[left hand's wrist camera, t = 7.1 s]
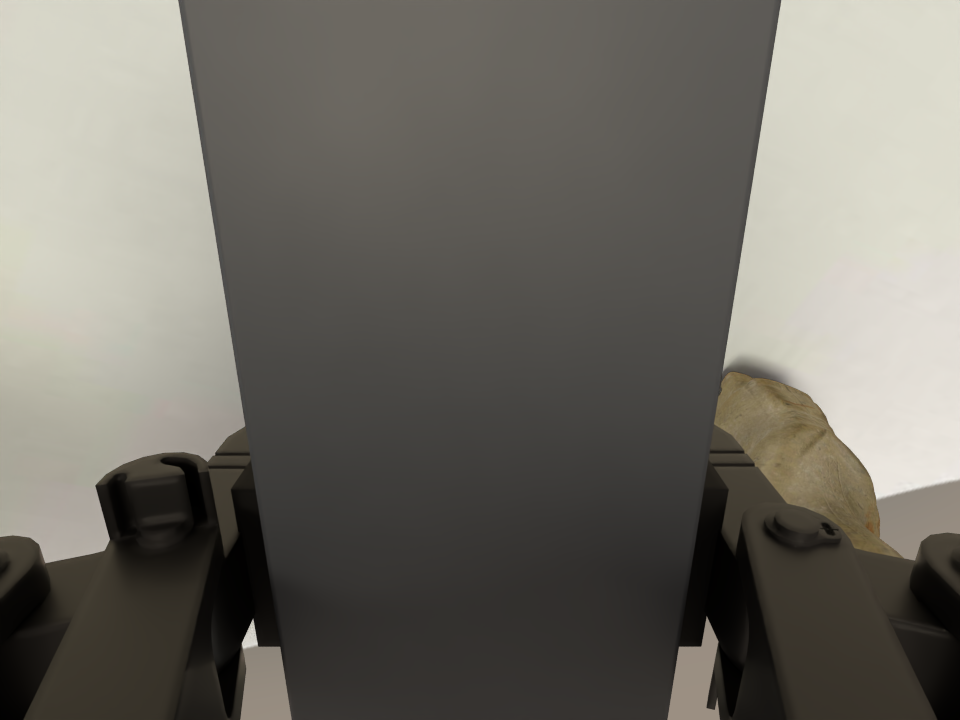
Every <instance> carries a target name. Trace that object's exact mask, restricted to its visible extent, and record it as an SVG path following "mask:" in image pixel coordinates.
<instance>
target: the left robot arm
mask: <svg viewBox="0 0 960 720" xmlns="http://www.w3.org/2000/svg"><path fill="white" fill-rule="evenodd" d="M96 490H97V493H98V497H99V501H100V504H101V508H102V512H103V515H104V519H105V523H106V526H107V530H108V534H109V537H110V541H109V543H108V545H107V547H106V549H105V551H102V552H99V553H95V554H90V555H85V556H80V557H75V558H70V559H65V560H60V561H55V562H50V563H45V561H44V558H43V555H42V552H41V549H40V546H39V544H37V543H36V542H35V541H33V540H32V539H31V538H28V537H20V536H5V537H0V720H240V717H241V708H242V700H243V691H244V683H245V674H246V665H245V658H244V653H243V647H242V641H243V639H244V637H245V635H246V633H247V630H248V628H249V626H250V624H251V622H252V620H253V619H254V625H255V630H256V636H257V642H258V646H259V647H280V641H279V635H278V628H277V622H276V616H275V609H274V603H273V597H272V590H271V584H270V578H269V571H268V565H267V559H266V552H265V546H264V540H263V533H262V527H261V521H260V514H259V508H258V502H257V495H256V489H255V483H254V476H253V470H252V464H251V457H250V451H249V445H248V438H247V432H246V426H245V427H244V428H242V429H241V430H239V431H237V432H236V433H234V434H232V435H231V436H229V437H228V438H227V439H226V440H225V441H224V443H223V444H222V445H221V446H220V448H219V449H218V450H217V451H216V453H215V456H212V458H211V459H210V460H209V461H208V462H207V461H205V460H204V459H203V458H201V457H200V456H198V455H194V454H189V453H184V452H180V453H162V454H157V455H152V456H147V457H142V458H140V459H137V460H134V461H131V462H129V463H126V464H123V465H121V466H120V467H118V468H116V469H115V470H113V471H111V472H109V473H108V474H106V475H105V476H104V477H103V478H102V479H101V480H100V481H99V482H98V483H97V485H96ZM706 617H708V620H709V622H710V624H711V626H712V628H713V630H714V633H715V635H716V637H717V639H718V641H719V642H718V647H717V653H716V658H715V663H714V669H713V674H712V679H711V684H710V690H709V695H708V702H707V708H709V709H713V710H715V706H716V701H717V698H718V707H719V715H720V720H960V534H954V533H942V534H934V535H930V536H928V537H927V538H926V539H924V540H923V541H922V542H921V544H920V547H919V551H918V554H917V557H916V560H915V561H914V560H909V559H904V558H899V557H893V556H888V555H883V554H878V553H873V552H868V551H864V550H860V549H856V548H854V546H853V544H852V542H851V540H850V538H849V537H848V536H847V535H846V533H845V532H844V531H843V530H842V528H841V527H840V526H838V525H837V524H835V523H834V522H832V521H831V520H830V519H828V518H827V517H825V516H823V515H821V514H819V513H816V512H814V511H812V510H809V509H807V508H804V507H800V506H796V505H792V504H787V503H786V501H785V500H784V499H783V498H782V496H781V495H780V494H779V493H778V491H777V490H776V489H775V488H774V486H773V485H772V484H771V483H770V482H769V480H768V479H767V478H766V477H765V475H764V474H763V473H762V472H761V470H760V469H759V468H758V467H755V463H754V462H753V460H752V459H751V458H750V457H749V456H748V454H745V452H744V449H743V448H742V447H741V446H740V444H739V443H738V442H737V441H736V439H735V438H734V437H733V436H732V435H731V434H729V433H728V432H726V431H724V430H723V429H721V428H719V427H718V426H716V425H714V427H713V434H712V440H711V446H710V453H709V459H708V465H707V472H706V478H705V484H704V491H703V497H702V503H701V509H700V516H699V522H698V528H697V535H696V541H695V547H694V554H693V560H692V566H691V573H690V579H689V585H688V592H687V598H686V604H685V611H684V617H683V623H682V629H681V636H680V642H679V647H680V646H681V647H682V646H683V647H685V646H686V647H689V646H691V647H694V646H697V647H699V646H701V645H702V639H703V634H704V628H705V622H706Z"/></svg>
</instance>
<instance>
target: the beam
mask: <svg viewBox="0 0 960 720" xmlns="http://www.w3.org/2000/svg"><path fill="white" fill-rule="evenodd" d="M178 1H179V7H180V14H181V20H182V26H183V33H184V39H185V45H186V52H187V58H188V64H189V71H190V77H191V83H192V90H193V96H194V102H195V109H196V115H197V121H198V128H199V134H200V140H201V147H202V153H203V159H204V166H205V172H206V178H207V185H208V191H209V197H210V204H211V210H212V216H213V223H214V229H215V235H216V242H217V248H218V254H219V261H220V267H221V273H222V280H223V286H224V292H225V299H226V305H227V311H228V318H229V324H230V331H231V337H232V343H233V350H234V356H235V362H236V369H237V375H238V381H239V388H240V394H241V400H242V407H243V413H244V419H245V426H246V432H247V438H248V445H249V451H250V457H251V464H252V470H253V476H254V483H255V489H256V495H257V502H258V508H259V514H260V521H261V527H262V533H263V540H264V546H265V552H266V559H267V565H268V571H269V578H270V584H271V590H272V597H273V603H274V609H275V616H276V622H277V628H278V635H279V641H280V647H281V654H282V660H283V666H284V673H285V679H286V685H287V692H288V698H289V705H290V711H291V717H292V720H667V718H668V712H669V705H670V699H671V692H672V686H673V680H674V674H675V667H676V661H677V655H678V648H679V642H680V636H681V629H682V623H683V617H684V611H685V604H686V598H687V592H688V585H689V579H690V573H691V566H692V560H693V554H694V547H695V541H696V535H697V528H698V522H699V516H700V509H701V503H702V497H703V491H704V484H705V478H706V472H707V465H708V459H709V453H710V446H711V440H712V434H713V427H714V421H715V415H716V408H717V402H718V396H719V389H720V383H721V377H722V371H723V364H724V358H725V352H726V345H727V339H728V333H729V326H730V320H731V314H732V307H733V301H734V295H735V288H736V282H737V276H738V269H739V263H740V257H741V251H742V244H743V238H744V232H745V225H746V219H747V213H748V206H749V200H750V194H751V187H752V181H753V175H754V168H755V162H756V156H757V149H758V143H759V137H760V131H761V124H762V118H763V112H764V105H765V99H766V93H767V86H768V80H769V74H770V67H771V61H772V55H773V48H774V42H775V36H776V29H777V23H778V17H779V11H780V4H781V0H178Z"/></svg>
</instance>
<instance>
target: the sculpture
mask: <svg viewBox="0 0 960 720" xmlns="http://www.w3.org/2000/svg"><path fill="white" fill-rule="evenodd" d="M721 388H722V391H721V393H720V395H719V396H718V402H717V408H716V415H715V421H714V425H716V426H718V427H719V428H721V429H723V430H724V431H726V432H728V433H729V434H731V435H732V436H733V437H734V438H735V439H736V441H737V442H738V443H739V444H740V446H741V447H742V448H743V449H744V452H745V454H748V456H749V457H750V458H751V459H752V460H753V462H754V463H755V467H758V468H759V469H760V470H761V472H762V473H763V474H764V475H765V477H766V478H767V479H768V480H769V482H770V483H771V484H772V485H773V486H774V488H775V489H776V490H777V491H778V493H779V494H780V495H781V496H782V498H783V499H784V500H785V501H786V503H787V504H792V505H796V506H800V507H804V508H807V509H809V510H812V511H814V512H816V513H819V514H821V515H823V516H825V517H827V518H828V519H830V520H831V521H832V522H834V523H835V524H837V525H838V526H840V527H841V528H842V530H843V531H844V532H845V533H846V535H847V536H848V537H849V538H850V540H851V542H852V544H853V546H854V548H856V549H860V550H864V551H868V552H873V553H878V554H883V555H888V556H893V557H899V558H903V557H902V556H901V555H900V554H899V553H898V552H897V551H895V550H894V549H893V548H891V547H890V546H889V545H888V544H886V543H885V542H884V541H882V540H881V539H880V538H879V537H880V528H879V527H880V519H879V513H878V509H877V506H876V496H875V492H874V487H873V483H872V480H871V477H870V475H869V473H868V472H867V470H866V468H865V467H864V466H863V464H862V463H861V462H860V460H859V459H858V458H857V457H856V456H855V454H854V453H853V452H852V451H851V450H850V449H849V448H848V447H847V446H846V445H845V444H844V443H843V442H842V441H841V440H840V439H838V438H837V436H836V435H835V434H834V432H833V429H832V428H831V427H830V426H829V424H828V421H827V418H826V416H825V415H824V413H823V412H822V410H821V409H820V407H819V406H818V405H817V404H816V403H814V402H813V401H812V399H811V397H810V396H809V395H807V394H806V393H804V392H802V391H799V390H797V389H795V388H793V387H790V386H788V385H785V384H782V383H779V382H777V381H773V380H769V379H764V378H754V379H753V378H752V377H750V376H748V375H745V374H741V373H737V372H730V373H728V374H727V375H726V376H725V378H724V379H723V381H722V383H721Z"/></svg>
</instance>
